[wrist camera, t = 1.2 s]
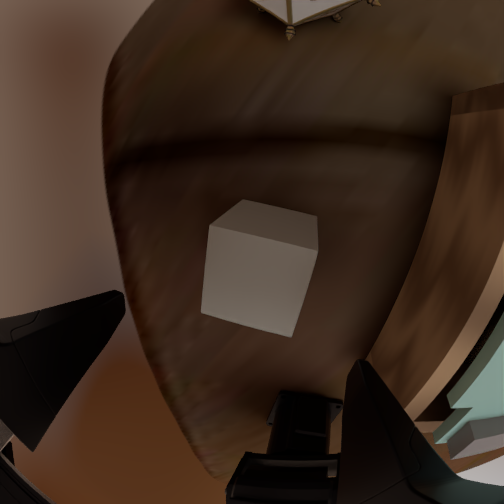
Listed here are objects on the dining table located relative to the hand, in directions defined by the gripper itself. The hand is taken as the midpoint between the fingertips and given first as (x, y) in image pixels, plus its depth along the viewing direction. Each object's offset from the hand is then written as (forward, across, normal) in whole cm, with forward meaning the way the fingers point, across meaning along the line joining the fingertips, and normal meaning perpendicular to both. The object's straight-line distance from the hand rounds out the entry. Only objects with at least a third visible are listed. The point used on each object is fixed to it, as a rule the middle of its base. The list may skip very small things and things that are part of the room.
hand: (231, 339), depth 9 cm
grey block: (+10, 0, 0) cm, 10 cm away
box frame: (+10, -19, -2) cm, 21 cm away
